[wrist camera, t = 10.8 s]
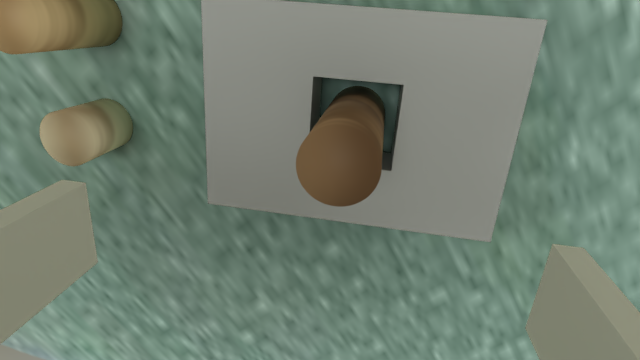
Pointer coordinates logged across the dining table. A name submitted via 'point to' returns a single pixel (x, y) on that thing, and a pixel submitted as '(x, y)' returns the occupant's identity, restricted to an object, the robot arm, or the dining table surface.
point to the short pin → (85, 131)
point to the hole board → (372, 66)
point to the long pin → (344, 149)
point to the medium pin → (57, 25)
